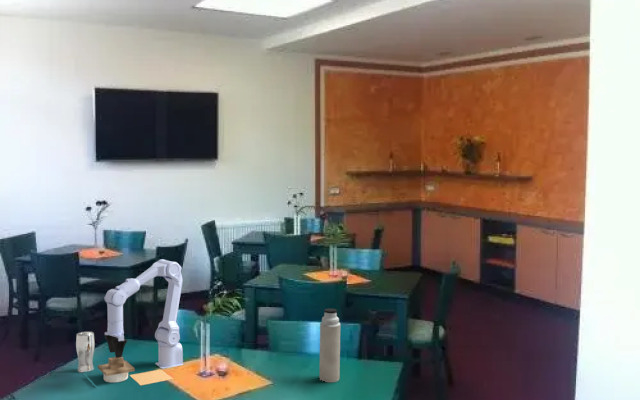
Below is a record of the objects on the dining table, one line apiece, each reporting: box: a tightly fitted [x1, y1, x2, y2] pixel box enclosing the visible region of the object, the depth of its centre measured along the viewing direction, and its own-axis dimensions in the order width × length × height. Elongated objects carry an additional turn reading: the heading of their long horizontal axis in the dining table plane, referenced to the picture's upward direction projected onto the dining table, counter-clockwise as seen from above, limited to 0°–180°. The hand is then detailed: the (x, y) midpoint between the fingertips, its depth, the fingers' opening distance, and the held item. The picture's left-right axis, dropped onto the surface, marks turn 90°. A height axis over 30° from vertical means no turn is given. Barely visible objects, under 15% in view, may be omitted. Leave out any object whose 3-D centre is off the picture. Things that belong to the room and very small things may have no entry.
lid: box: [97, 356, 136, 376], centre depth 254 cm, size 11×11×4 cm
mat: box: [129, 368, 174, 386], centre depth 256 cm, size 13×13×1 cm
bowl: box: [103, 372, 129, 383], centre depth 254 cm, size 9×9×4 cm
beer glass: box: [75, 331, 95, 374], centre depth 263 cm, size 7×7×15 cm
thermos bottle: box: [318, 308, 341, 383], centre depth 257 cm, size 8×8×28 cm
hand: (115, 354), depth 253 cm, fingers open, 7 cm apart
